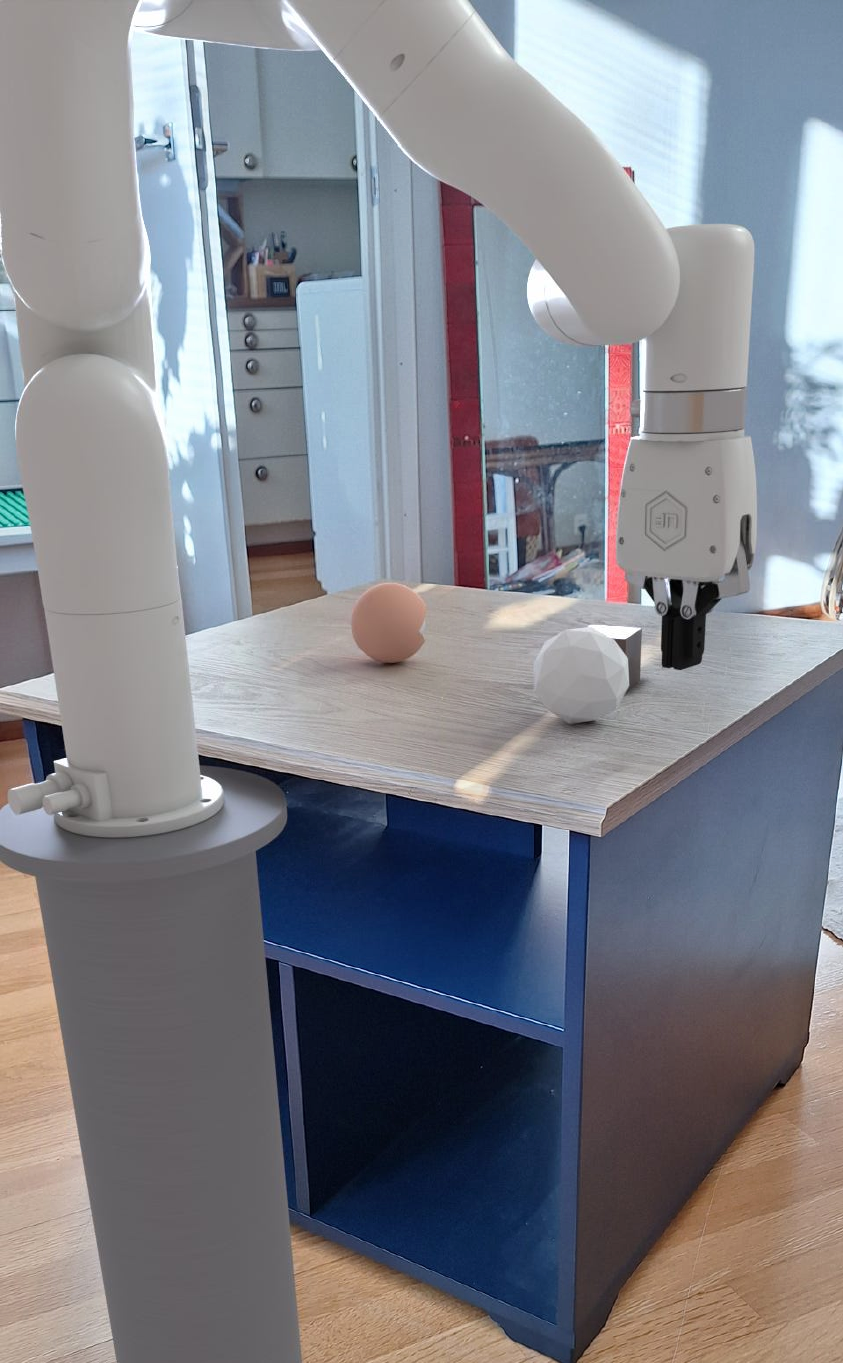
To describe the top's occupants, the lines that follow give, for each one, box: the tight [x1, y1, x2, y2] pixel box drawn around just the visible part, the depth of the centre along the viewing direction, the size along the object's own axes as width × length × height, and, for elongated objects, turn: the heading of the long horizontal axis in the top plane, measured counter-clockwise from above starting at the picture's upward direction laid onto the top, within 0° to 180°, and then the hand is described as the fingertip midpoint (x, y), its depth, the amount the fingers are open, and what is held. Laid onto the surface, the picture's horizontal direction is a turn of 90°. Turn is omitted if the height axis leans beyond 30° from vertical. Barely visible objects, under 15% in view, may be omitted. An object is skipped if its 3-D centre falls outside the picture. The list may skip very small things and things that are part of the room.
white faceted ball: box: [532, 626, 629, 725], centre depth 110 cm, size 8×8×12 cm
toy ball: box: [350, 582, 427, 664], centre depth 130 cm, size 8×8×8 cm
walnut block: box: [588, 624, 643, 693], centre depth 119 cm, size 5×5×5 cm
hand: (681, 665), depth 101 cm, fingers closed
